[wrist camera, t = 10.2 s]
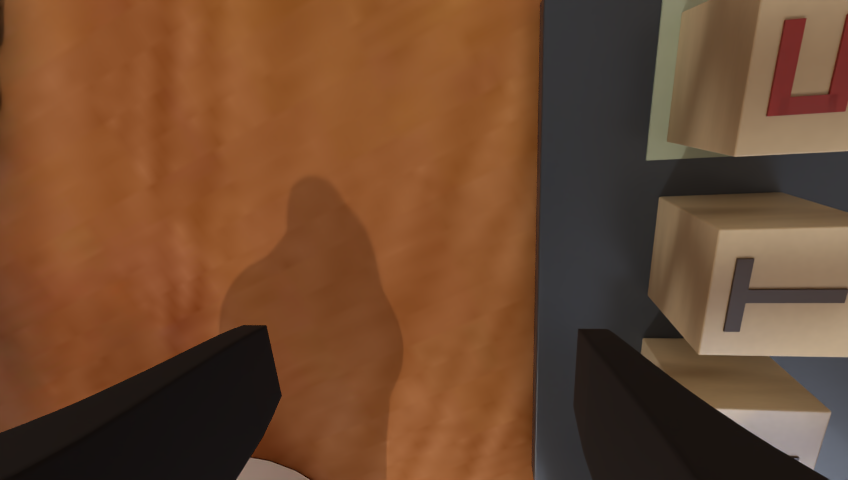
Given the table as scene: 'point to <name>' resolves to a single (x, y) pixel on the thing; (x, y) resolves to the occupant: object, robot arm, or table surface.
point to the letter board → (621, 218)
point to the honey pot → (267, 471)
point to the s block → (762, 77)
